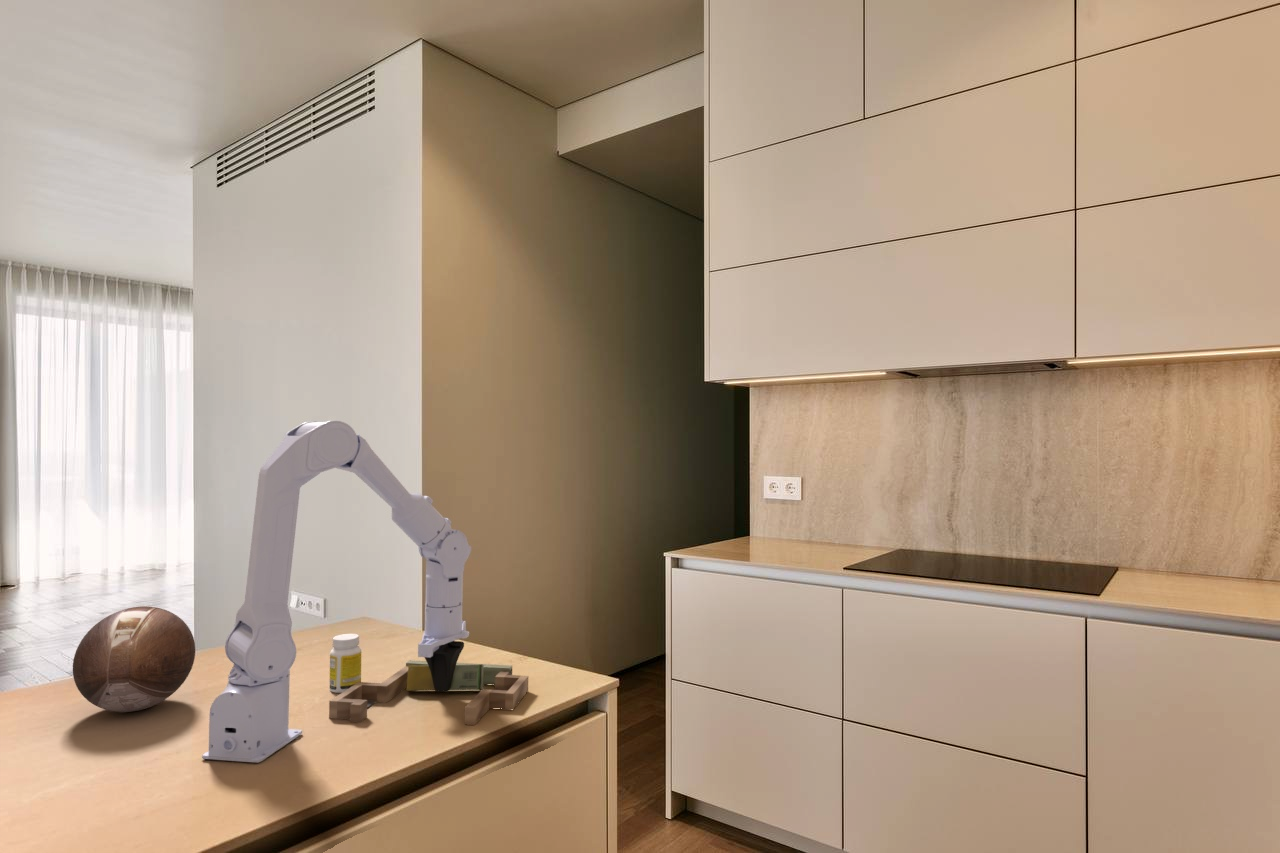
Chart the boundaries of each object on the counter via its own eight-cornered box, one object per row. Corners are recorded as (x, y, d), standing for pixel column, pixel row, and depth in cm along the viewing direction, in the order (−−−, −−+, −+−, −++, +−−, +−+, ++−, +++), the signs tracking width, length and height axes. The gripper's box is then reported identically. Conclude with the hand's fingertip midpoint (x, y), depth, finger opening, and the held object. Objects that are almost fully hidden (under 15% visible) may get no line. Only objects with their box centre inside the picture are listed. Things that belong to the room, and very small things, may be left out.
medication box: (484, 689, 118) (485, 663, 119) (481, 690, 115) (483, 663, 116) (409, 690, 117) (411, 664, 118) (405, 691, 114) (407, 664, 116)
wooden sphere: (65, 736, 97) (69, 625, 98) (76, 702, 110) (79, 603, 110) (196, 714, 106) (198, 611, 106) (192, 685, 118) (194, 593, 119)
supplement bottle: (366, 684, 120) (367, 633, 120) (352, 694, 115) (353, 641, 115) (338, 683, 120) (339, 632, 120) (323, 692, 115) (324, 640, 116)
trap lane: (496, 730, 101) (496, 709, 101) (325, 720, 104) (326, 699, 104) (533, 684, 120) (533, 666, 121) (388, 676, 124) (389, 659, 124)
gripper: (450, 615, 107) (449, 708, 107) (483, 595, 121) (482, 676, 121) (405, 613, 108) (403, 705, 107) (443, 593, 122) (441, 674, 122)
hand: (442, 690), depth 114 cm, fingers closed
